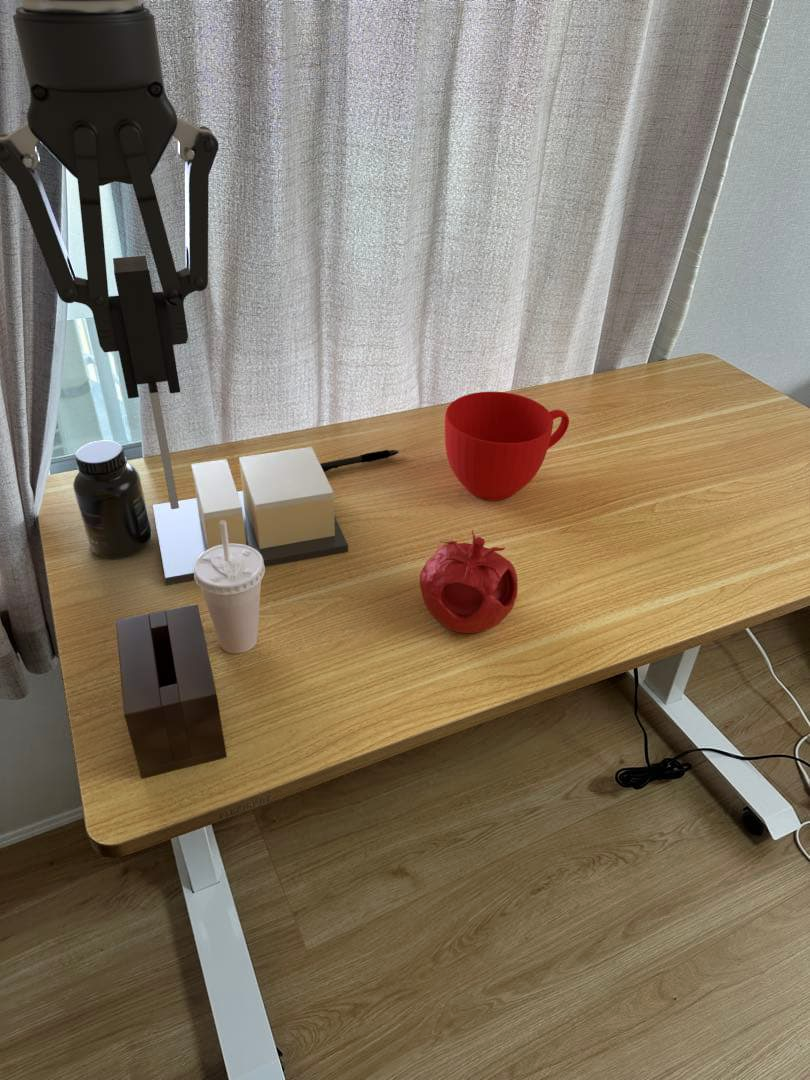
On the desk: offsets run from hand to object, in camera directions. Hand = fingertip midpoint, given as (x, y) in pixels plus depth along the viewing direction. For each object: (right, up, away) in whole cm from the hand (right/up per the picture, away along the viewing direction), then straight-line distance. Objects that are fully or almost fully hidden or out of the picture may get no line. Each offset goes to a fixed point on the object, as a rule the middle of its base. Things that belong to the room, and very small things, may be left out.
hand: (153, 386), depth 59 cm
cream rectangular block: (-2, -10, +33) cm, 34 cm away
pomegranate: (+25, -19, +25) cm, 40 cm away
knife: (0, -7, +6) cm, 9 cm away
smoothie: (+2, -21, +20) cm, 29 cm away
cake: (+5, -9, +35) cm, 37 cm away
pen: (+11, -2, +46) cm, 47 cm away
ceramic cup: (+31, -4, +44) cm, 54 cm away
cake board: (0, -10, +34) cm, 36 cm away
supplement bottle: (-14, -12, +32) cm, 36 cm away
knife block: (-2, -27, +12) cm, 30 cm away
